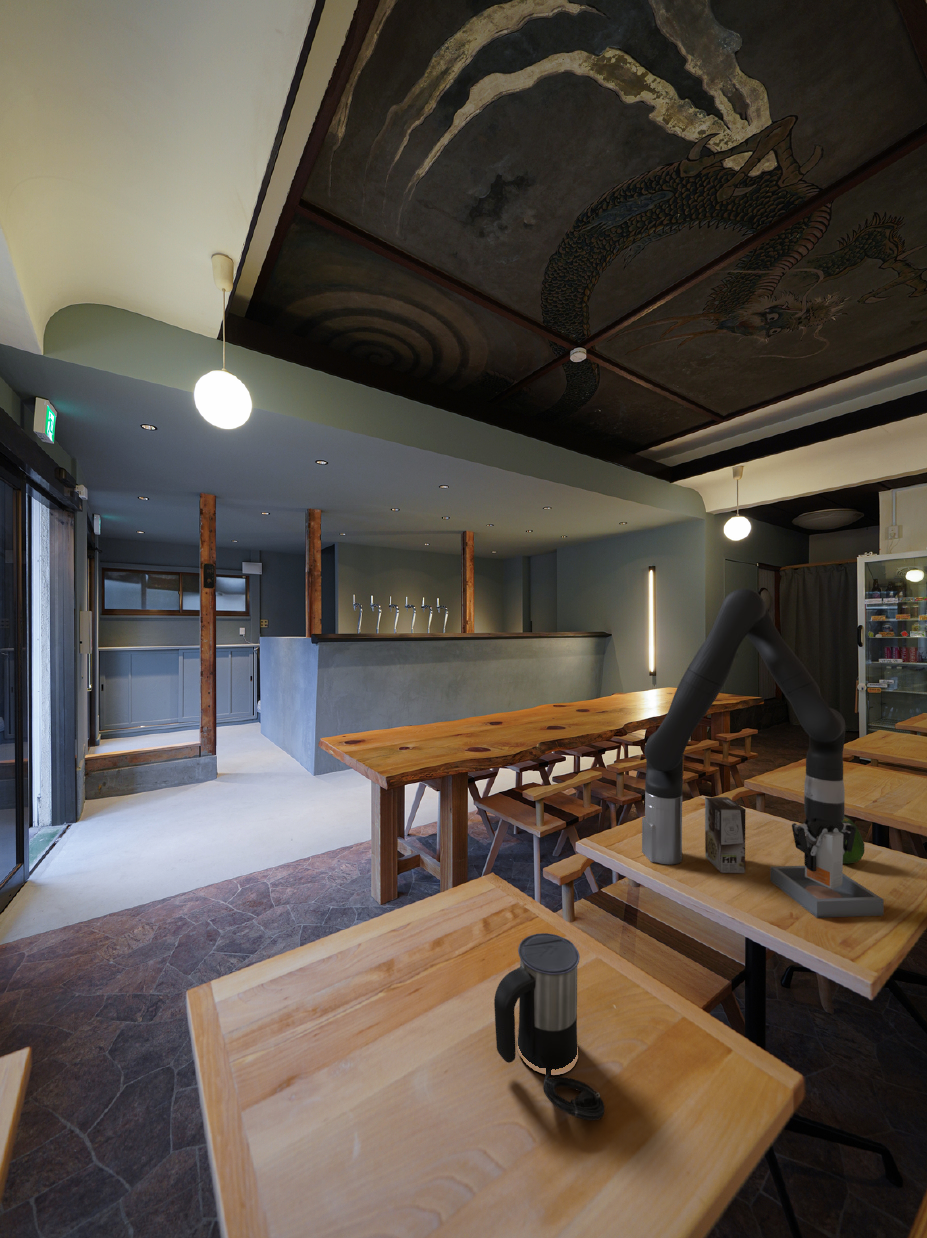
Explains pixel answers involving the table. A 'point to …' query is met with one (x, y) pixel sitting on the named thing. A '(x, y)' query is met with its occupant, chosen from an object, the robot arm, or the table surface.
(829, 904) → the shallow gray box
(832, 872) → the skincare box
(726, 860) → the coffee box
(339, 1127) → the table surface
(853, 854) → the avocado
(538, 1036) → the milk frother
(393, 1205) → the table surface
